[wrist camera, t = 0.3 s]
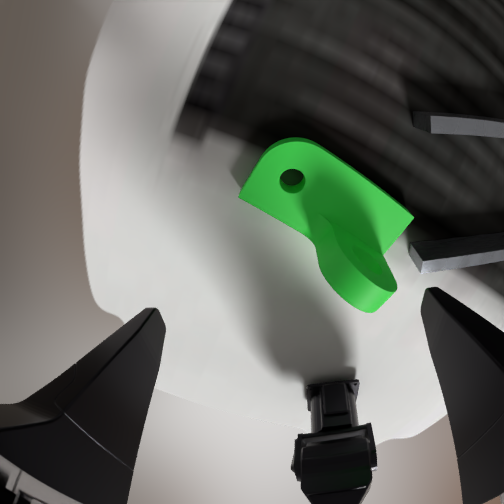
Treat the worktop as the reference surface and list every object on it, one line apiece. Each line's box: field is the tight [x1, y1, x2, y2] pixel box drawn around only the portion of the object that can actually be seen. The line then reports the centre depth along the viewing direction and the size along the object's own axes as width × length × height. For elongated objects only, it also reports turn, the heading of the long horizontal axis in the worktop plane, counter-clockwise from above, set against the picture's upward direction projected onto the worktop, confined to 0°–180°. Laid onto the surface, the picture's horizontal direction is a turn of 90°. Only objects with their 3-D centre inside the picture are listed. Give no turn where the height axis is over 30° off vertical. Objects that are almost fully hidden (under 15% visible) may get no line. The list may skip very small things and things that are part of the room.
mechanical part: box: [238, 137, 414, 313], centre depth 19 cm, size 12×6×8 cm, turn 60°
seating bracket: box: [409, 111, 504, 274], centre depth 18 cm, size 12×15×3 cm
